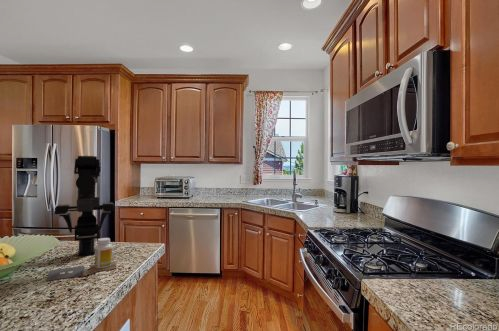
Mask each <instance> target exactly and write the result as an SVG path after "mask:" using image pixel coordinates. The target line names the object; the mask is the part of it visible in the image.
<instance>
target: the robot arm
mask: <svg viewBox="0 0 499 331" xmlns="http://www.w3.org/2000/svg"><path fill="white" fill-rule="evenodd" d="M101 164H102V162H101V161H100V159H98V156H96V155H78V156H77V158H75V159H74V170H73V174H74V175H77V178H76V181H75V186H76V188H77V198H76V205H72V206H70V205H71V204H57V205H56V207H55V208H54V215H59V217H62V218H63V219H64V220H65V222H66V225H67V228H68V231H69V233H70V234H71V233H72V232H73V224H72V214H71V213H72V212H78V213H81V215H80V216H78V218H77V220H76V225H74V241H78V251H77V254H76V257H82V256H90V255H91V256H92V255H95V247H96V245H95V243H96V242H95V239H97V240H98V239H101V238H100V237H101V229H102V227H103V224H104V221H105V219H106V218H107V216H108V214H111V212H115V203H114V202H102V204H100V199H101V198H100V196H96V184H97V183H98V181H99V179H98V178H99V177H100V175H101V174H100V173H101V168H102V167H101V166H102V165H101ZM94 211H101V213H100V220H99V223H98V222H97V221H98V219H97V217H96V215H94Z"/></svg>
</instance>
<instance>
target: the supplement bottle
mask: <svg viewBox="0 0 499 331" xmlns="http://www.w3.org/2000/svg"><path fill="white" fill-rule="evenodd" d="M94 249H95V254H94V264H95V268H107V267H109V266H111V264H112V262H113V260H112V259H113V257H112V256H113V245H112V244H111V238H110V237H101V238H98V239H97V245H95V247H94Z"/></svg>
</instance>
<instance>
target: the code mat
mask: <svg viewBox="0 0 499 331" xmlns="http://www.w3.org/2000/svg"><path fill="white" fill-rule="evenodd" d="M84 270H85V265H80V266H71V267H64V268H59V269H58V268H56V269H51V270H50V271H49V272H48V275H47V277H46V278H45V282H51V281H56V280H62V279H69V278H70V279H71V278H77V277H78V278H79V277H83V276H84V272H85V271H84Z"/></svg>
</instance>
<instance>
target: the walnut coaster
mask: <svg viewBox="0 0 499 331" xmlns="http://www.w3.org/2000/svg"><path fill="white" fill-rule="evenodd" d="M111 269H112V270H117V263H116V261H113V260H112V264H111V266H109V267H107V268H95V263H91V264H90V269H89V270H90V271H89V272H90V273H97V272H104V271H109V270H111Z"/></svg>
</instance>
